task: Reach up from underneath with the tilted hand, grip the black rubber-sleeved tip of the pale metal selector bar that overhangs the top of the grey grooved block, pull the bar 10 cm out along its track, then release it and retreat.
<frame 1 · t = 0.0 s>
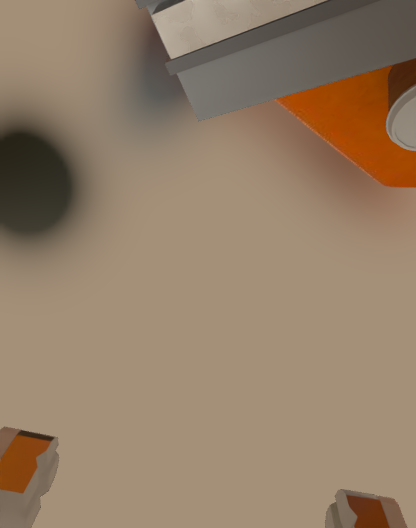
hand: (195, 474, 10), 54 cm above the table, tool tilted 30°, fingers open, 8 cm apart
disposable coffee cup: (412, 72, 51), on the table
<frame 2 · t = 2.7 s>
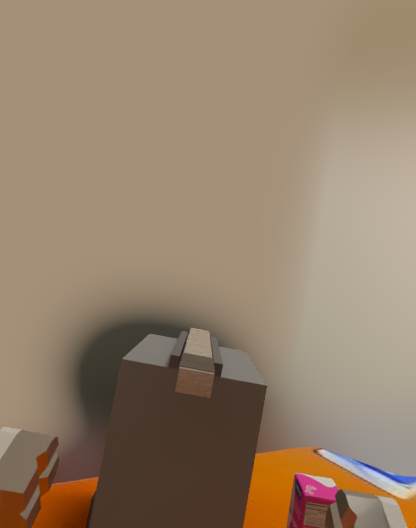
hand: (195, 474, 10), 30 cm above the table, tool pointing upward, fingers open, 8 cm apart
selector bar: (197, 351, 44), point 27 cm above the table, slide at 0.0 cm
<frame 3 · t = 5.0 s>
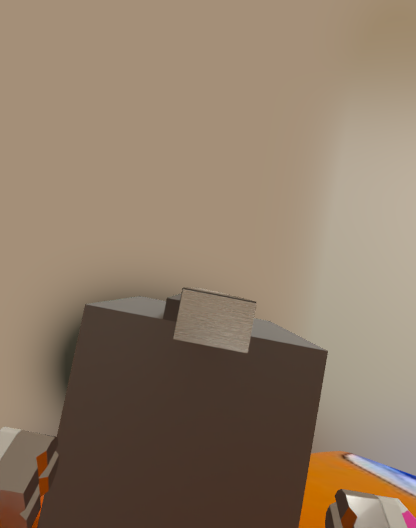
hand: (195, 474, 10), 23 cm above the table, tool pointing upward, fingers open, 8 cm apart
selector bar: (209, 304, 28), point 27 cm above the table, slide at 0.0 cm
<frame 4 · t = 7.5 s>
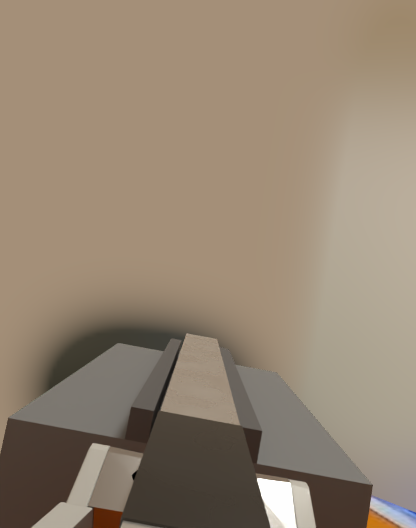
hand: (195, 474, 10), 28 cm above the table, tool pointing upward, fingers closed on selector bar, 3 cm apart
selector bar: (197, 388, 20), point 27 cm above the table, slide at 0.0 cm, touching gripper
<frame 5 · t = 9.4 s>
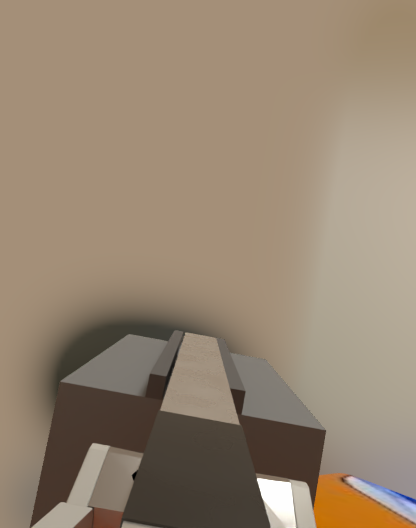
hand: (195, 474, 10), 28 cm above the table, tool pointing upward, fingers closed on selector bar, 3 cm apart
selector bar: (197, 387, 20), point 27 cm above the table, slide at 5.7 cm, touching gripper
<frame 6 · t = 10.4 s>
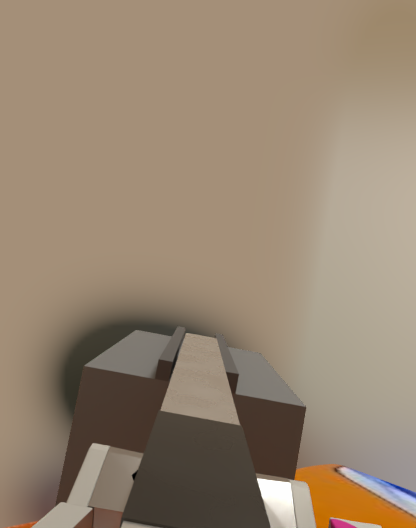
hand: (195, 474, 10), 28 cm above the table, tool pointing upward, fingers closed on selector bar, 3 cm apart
selector bar: (197, 387, 20), point 27 cm above the table, slide at 9.8 cm, touching gripper
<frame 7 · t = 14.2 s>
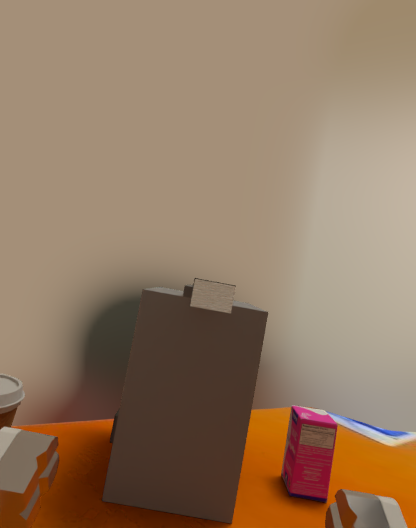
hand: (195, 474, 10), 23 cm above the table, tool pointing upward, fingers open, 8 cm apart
selector bar: (208, 291, 40), point 27 cm above the table, slide at 10.0 cm
grey grooved block: (173, 469, 53), on the table
supplement box: (302, 490, 54), on the table
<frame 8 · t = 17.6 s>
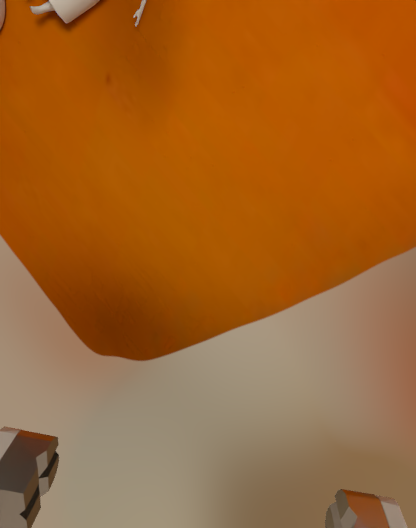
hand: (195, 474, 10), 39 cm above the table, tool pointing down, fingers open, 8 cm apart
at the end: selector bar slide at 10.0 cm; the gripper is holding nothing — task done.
